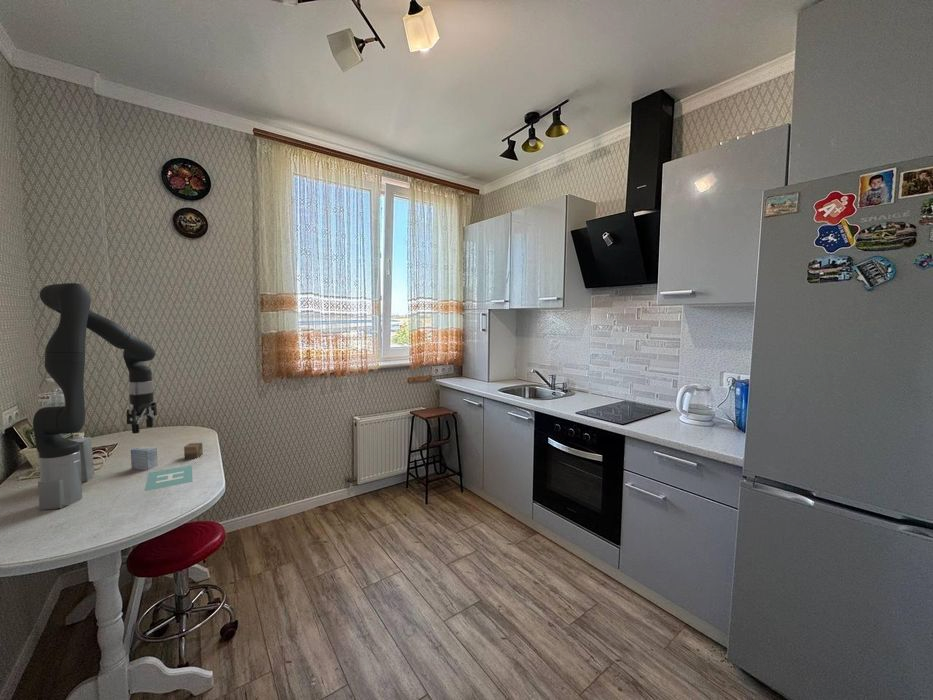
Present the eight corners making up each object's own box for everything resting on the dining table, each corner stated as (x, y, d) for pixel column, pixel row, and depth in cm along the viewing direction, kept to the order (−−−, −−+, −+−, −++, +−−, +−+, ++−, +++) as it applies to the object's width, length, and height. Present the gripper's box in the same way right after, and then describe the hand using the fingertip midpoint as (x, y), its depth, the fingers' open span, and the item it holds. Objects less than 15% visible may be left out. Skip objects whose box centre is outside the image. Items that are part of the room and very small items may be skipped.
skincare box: (87, 482, 139) (85, 441, 138) (61, 485, 136) (58, 444, 135) (95, 473, 147) (93, 435, 146) (70, 477, 143) (68, 438, 142)
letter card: (192, 482, 141) (192, 481, 141) (144, 492, 132) (144, 491, 132) (191, 465, 157) (191, 465, 157) (149, 473, 148) (149, 472, 148)
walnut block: (196, 459, 164) (196, 446, 164) (184, 459, 163) (184, 446, 163) (202, 455, 169) (202, 442, 169) (190, 455, 168) (190, 443, 168)
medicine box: (158, 466, 155) (157, 447, 154) (148, 471, 151) (147, 450, 150) (141, 465, 156) (140, 446, 155) (131, 469, 151) (130, 449, 151)
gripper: (142, 388, 157) (144, 425, 158) (117, 395, 143) (120, 435, 144) (162, 388, 158) (163, 425, 160) (139, 395, 145) (141, 435, 146)
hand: (143, 430), depth 152 cm, fingers open, 8 cm apart
